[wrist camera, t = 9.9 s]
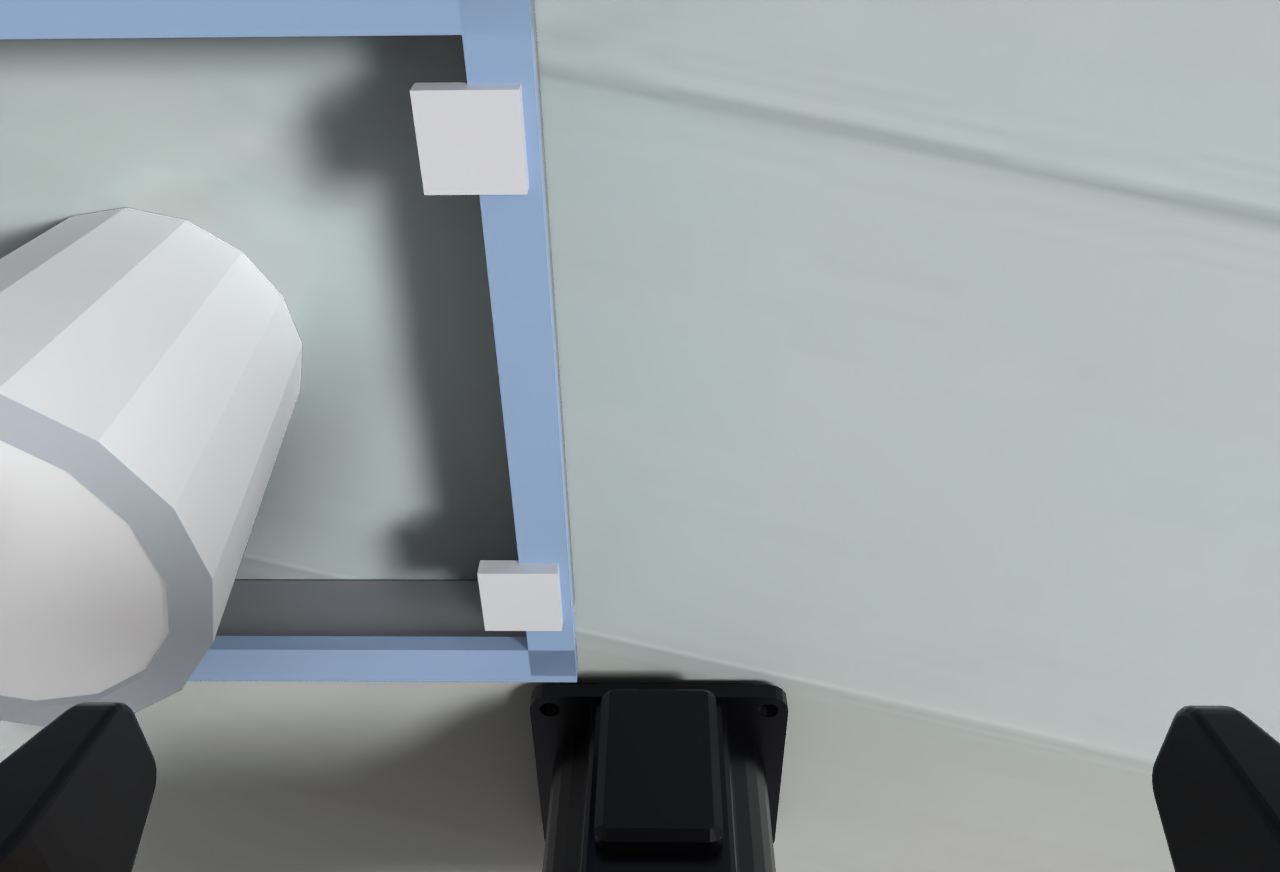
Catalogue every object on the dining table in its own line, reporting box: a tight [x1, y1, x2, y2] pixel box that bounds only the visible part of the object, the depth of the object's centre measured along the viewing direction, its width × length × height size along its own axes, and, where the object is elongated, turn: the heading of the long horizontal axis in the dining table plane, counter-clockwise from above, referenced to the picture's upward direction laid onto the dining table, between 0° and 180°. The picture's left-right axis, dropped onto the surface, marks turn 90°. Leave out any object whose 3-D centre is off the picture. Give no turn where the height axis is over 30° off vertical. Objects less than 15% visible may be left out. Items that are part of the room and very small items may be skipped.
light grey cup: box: [0, 208, 302, 727], centre depth 18 cm, size 7×7×7 cm
